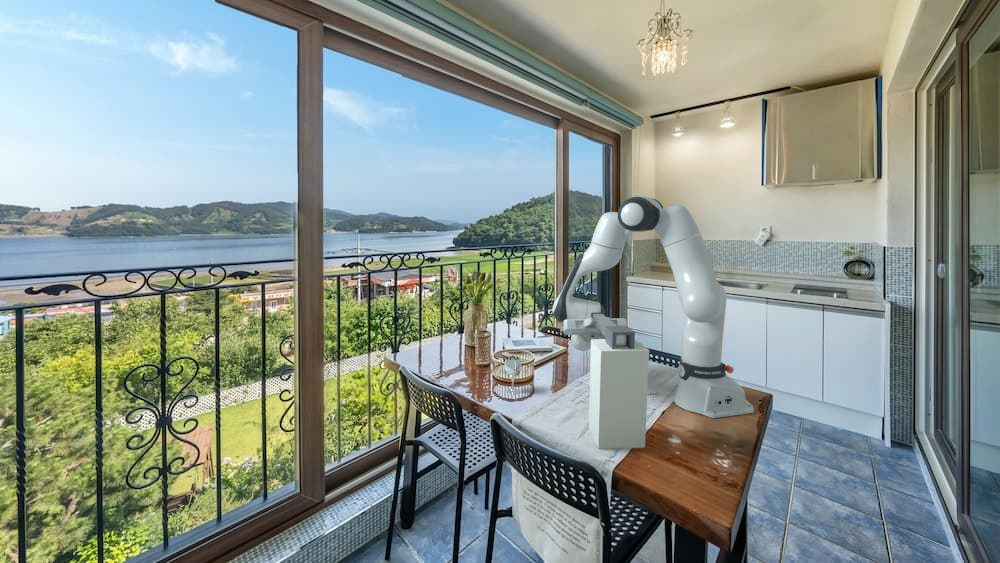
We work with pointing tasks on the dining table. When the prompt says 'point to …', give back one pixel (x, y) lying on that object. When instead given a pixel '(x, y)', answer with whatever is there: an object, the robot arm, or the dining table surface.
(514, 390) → the wineglass
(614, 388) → the tall white pillar
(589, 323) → the robot arm
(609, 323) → the angular gray block
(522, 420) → the dining table surface
